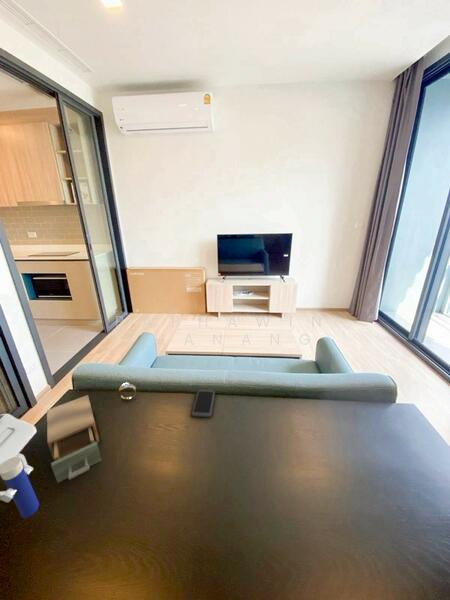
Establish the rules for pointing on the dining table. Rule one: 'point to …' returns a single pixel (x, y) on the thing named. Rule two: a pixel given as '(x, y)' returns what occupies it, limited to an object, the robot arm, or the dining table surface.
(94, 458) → the drawer
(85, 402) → the cabinet
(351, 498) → the dining table surface
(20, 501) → the disc
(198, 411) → the cell phone
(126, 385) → the ring
